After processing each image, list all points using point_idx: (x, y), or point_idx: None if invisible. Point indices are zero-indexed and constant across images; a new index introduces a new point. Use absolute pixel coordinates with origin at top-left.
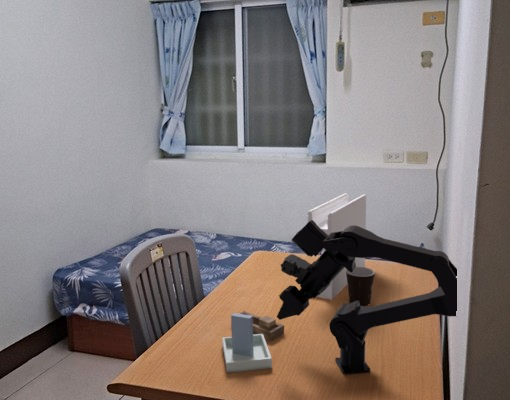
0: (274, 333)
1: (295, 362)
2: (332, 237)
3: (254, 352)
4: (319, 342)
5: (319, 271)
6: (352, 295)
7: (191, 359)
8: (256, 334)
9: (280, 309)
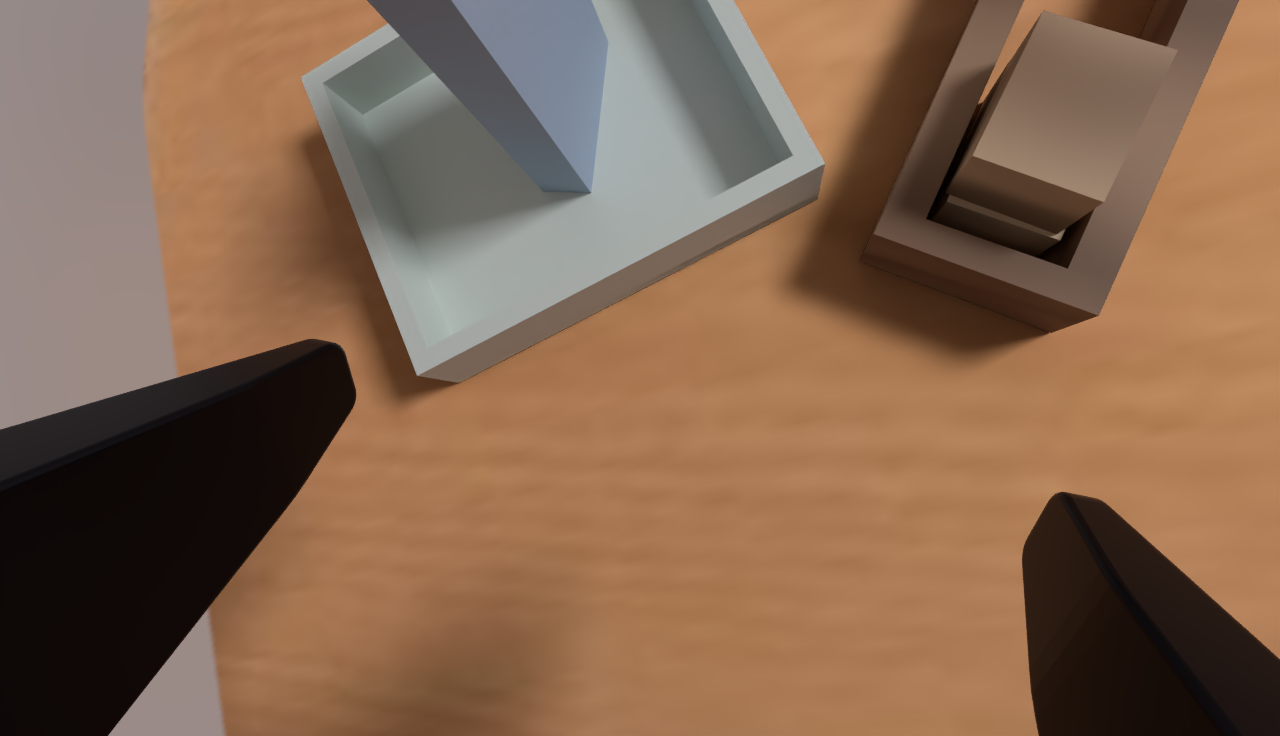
0: (916, 261)
1: (572, 537)
2: None
3: (608, 193)
4: (976, 708)
5: None
6: None
7: None
8: (791, 111)
9: (38, 427)
